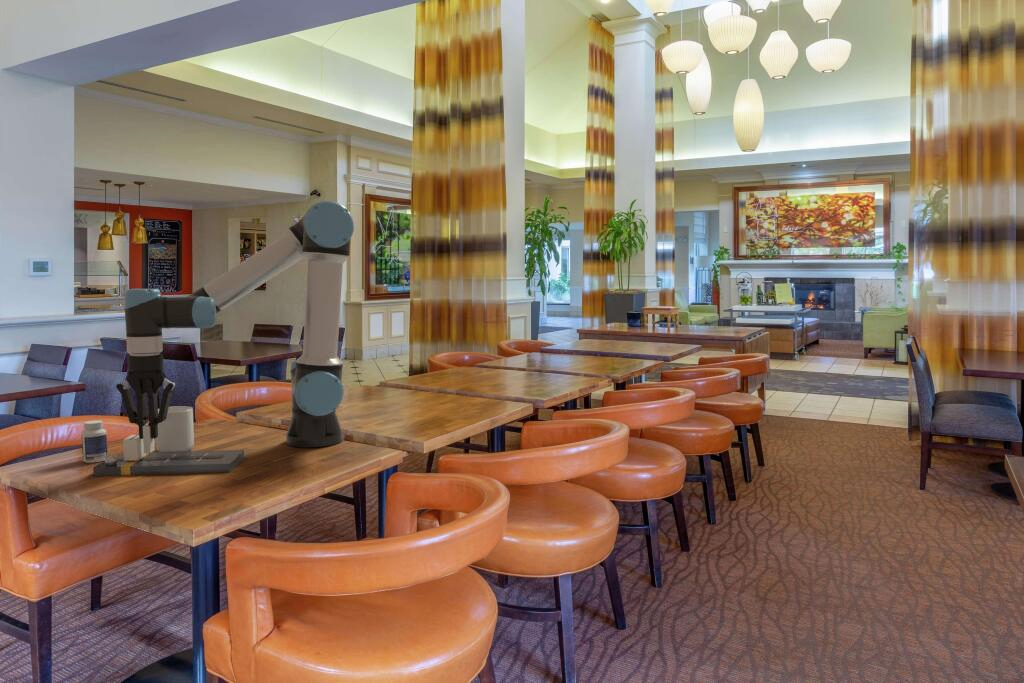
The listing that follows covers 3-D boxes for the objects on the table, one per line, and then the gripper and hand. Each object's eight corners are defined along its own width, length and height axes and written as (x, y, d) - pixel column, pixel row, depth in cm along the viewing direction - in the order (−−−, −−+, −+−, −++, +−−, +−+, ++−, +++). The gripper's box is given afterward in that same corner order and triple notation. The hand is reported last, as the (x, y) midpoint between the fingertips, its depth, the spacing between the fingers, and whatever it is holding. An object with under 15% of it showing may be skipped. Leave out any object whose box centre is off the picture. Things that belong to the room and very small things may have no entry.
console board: (244, 457, 174) (243, 442, 173) (230, 472, 161) (229, 455, 160) (118, 461, 170) (117, 445, 170) (93, 476, 157) (92, 459, 157)
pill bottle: (112, 459, 172) (111, 420, 171) (92, 464, 167) (89, 425, 166) (98, 456, 174) (96, 418, 173) (77, 461, 169) (75, 422, 168)
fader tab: (146, 454, 167) (145, 434, 166) (137, 460, 162) (136, 439, 161) (132, 455, 166) (131, 434, 166) (124, 460, 161) (123, 439, 161)
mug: (194, 453, 178) (192, 411, 177) (155, 456, 174) (153, 413, 173) (195, 442, 189) (193, 403, 188) (158, 446, 185) (157, 405, 184)
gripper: (179, 352, 167) (183, 447, 169) (122, 352, 165) (127, 448, 167) (168, 355, 159) (172, 454, 161) (108, 355, 158) (113, 456, 160)
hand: (149, 451), depth 164 cm, fingers closed
